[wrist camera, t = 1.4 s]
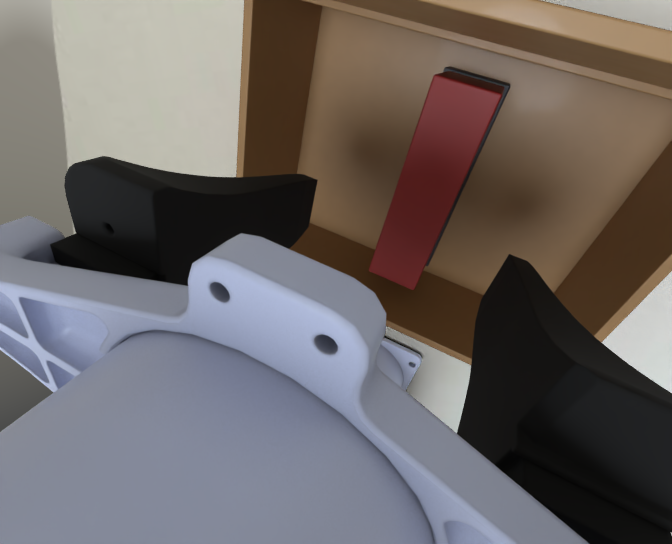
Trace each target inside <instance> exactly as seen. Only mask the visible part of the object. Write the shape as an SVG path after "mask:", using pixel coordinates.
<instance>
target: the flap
mask: <svg viewBox="0 0 672 544" xmlns="http://www.w3.org/2000/svg"><path fill="white" fill-rule="evenodd" d="M334 1H337V2H341V3H345V4H349V5H353V6H356V7H360V8H364V9H368V10H372V11H375V12H379V13H383V14H387V15H390V16H394V17H398V18H402V19H406V20H409V21H413V22H417V23H421V24H424V25H428V26H432V27H436V28H440V29H443V30H447V31H451V32H455V33H459V34H462V35H466V36H470V37H474V38H477V39H481V40H485V41H489V42H493V43H496V44H500V45H504V46H508V47H512V48H515V49H519V50H523V51H527V52H530V53H534V54H538V55H542V56H546V57H549V58H553V59H557V60H561V61H565V62H568V63H572V64H576V65H580V66H583V67H587V68H591V69H595V70H599V71H602V72H606V73H610V74H614V75H618V76H621V77H625V78H629V79H633V80H636V81H640V82H644V83H648V84H652V85H655V86H659V87H663V88H667V89H671V90H672V31H670V30H665V29H661V28H657V27H653V26H648V25H644V24H640V23H635V22H631V21H627V20H622V19H618V18H614V17H609V16H605V15H601V14H597V13H592V12H588V11H584V10H579V9H575V8H571V7H566V6H562V5H558V4H554V3H549V2H545V1H541V0H334Z"/></svg>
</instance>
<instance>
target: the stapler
mask: <svg viewBox="0 0 672 544" xmlns="http://www.w3.org/2000/svg"><path fill="white" fill-rule="evenodd" d="M509 89H510V83H507V82H503V81H500V80H496V79H493V78H489V77H486V76H482V75H479V74H475V73H472V72H468V71H465V70H461V69H458V68H454V67H451V66H449V67H445V68H444V71H443V73H439V74H435V75H434V76H433V79H432V82H431V85H430V88H429V91H428V94H427V97H426V100H425V103H424V106H423V109H422V112H421V114H420V117H419V120H418V123H417V126H416V129H415V132H414V135H413V138H412V141H411V144H410V147H409V150H408V153H407V156H406V159H405V162H404V165H403V168H402V171H401V174H400V177H399V180H398V183H397V186H396V189H395V192H394V195H393V198H392V201H391V204H390V207H389V210H388V213H387V216H386V219H385V222H384V225H383V228H382V231H381V234H380V237H379V240H378V243H377V246H376V249H375V252H374V255H373V258H372V261H371V264H370V267H369V271H370V272H372V273H375V274H377V275H379V276H381V277H384V278H386V279H388V280H391V281H393V282H395V283H398V284H400V285H402V286H405V287H407V288H409V289H411V290H414V289H415V288H416V285H417V283H418V281H419V279H420V277H421V274H422V272H423V270H424V268H425V266H428V265H429V263H430V261H431V259H432V257H433V254H434V252H435V250H436V248H437V246H438V243H439V241H440V239H441V237H442V235H443V233H444V230H445V228H446V226H447V224H448V222H449V219H450V217H451V215H452V213H453V211H454V209H455V206H456V204H457V202H458V200H459V198H460V195H461V193H462V191H463V189H464V187H465V185H466V182H467V180H468V178H469V176H470V174H471V172H472V169H473V167H474V165H475V163H476V161H477V158H478V156H479V154H480V152H481V150H482V148H483V145H484V143H485V141H486V139H487V137H488V134H489V132H490V130H491V128H492V126H493V124H494V121H495V119H496V117H497V115H498V113H499V110H500V108H501V106H502V104H503V102H504V100H505V97H506V95H507V93H508V91H509Z"/></svg>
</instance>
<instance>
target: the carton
mask: <svg viewBox="0 0 672 544" xmlns="http://www.w3.org/2000/svg"><path fill="white" fill-rule="evenodd" d="M449 66H451V67H454V68H458V69H461V70H465V71H468V72H472V73H475V74H479V75H482V76H486V77H489V78H493V79H496V80H500V81H503V82H507V83H510V89H509V91H508V93H507V95H506V97H505V100H504V102H503V104H502V106H501V108H500V110H499V113H498V115H497V117H496V119H495V121H494V124H493V126H492V128H491V130H490V132H489V134H488V137H487V139H486V141H485V143H484V145H483V148H482V150H481V152H480V154H479V156H478V158H477V161H476V163H475V165H474V167H473V169H472V172H471V174H470V176H469V178H468V180H467V182H466V185H465V187H464V189H463V191H462V193H461V195H460V198H459V200H458V202H457V204H456V206H455V209H454V211H453V213H452V215H451V217H450V219H449V222H448V224H447V226H446V228H445V230H444V233H443V235H442V237H441V239H440V241H439V243H438V246H437V248H436V250H435V252H434V254H433V257H432V259H431V261H430V263H429V265H428V266H425V268H424V270H423V272H422V274H421V277H420V279H419V281H418V283H417V285H416V288H415V289H414V290H411V289H409V288H407V287H405V286H402V285H400V284H398V283H395V282H393V281H391V280H388V279H386V278H384V277H381V276H379V275H377V274H375V273H372V272H370V271H369V267H370V264H371V261H372V258H373V255H374V252H375V249H376V246H377V243H378V240H379V237H380V234H381V231H382V228H383V225H384V222H385V219H386V216H387V213H388V210H389V207H390V204H391V201H392V198H393V195H394V192H395V189H396V186H397V183H398V180H399V177H400V174H401V171H402V168H403V165H404V162H405V159H406V156H407V153H408V150H409V147H410V144H411V141H412V138H413V135H414V132H415V129H416V126H417V123H418V120H419V117H420V114H421V112H422V109H423V106H424V103H425V100H426V97H427V94H428V91H429V88H430V85H431V82H432V79H433V76H434V75H435V74H439V73H443V71H444V68H445V67H449ZM281 174H304V175H306V176H309V177H312V178H314V179H317V180H318V181H317V186H316V191H315V197H314V202H313V207H312V212H311V218H310V223H309V227H308V228H307V230H306V231H305V232H304V234H303V235H302V236H301V237H300V238H299V240H298V241H297V242H296V243H295V244H294V245H293V246H292V247H291V248H290V250H292V251H295V252H297V253H299V254H301V255H304V256H306V257H308V258H310V259H313V260H315V261H317V262H319V263H322V264H324V265H326V266H329V267H331V268H333V269H335V270H338V271H340V272H342V273H344V274H347V275H349V276H351V277H353V278H355V279H356V280H358V281H359V282H361V283H362V284H363V285H365V286H366V287H367V288H369V289H370V290H372V291H373V292H374V293H375V294H376V296H377V298H378V299H379V301H380V303H381V305H382V307H383V308H384V310H385V312H386V326H388V327H390V328H392V329H394V330H396V331H399V332H401V333H403V334H405V335H407V336H409V337H411V338H414V339H416V340H418V341H420V342H422V343H424V344H427V345H429V346H431V347H433V348H435V349H437V350H440V351H442V352H444V353H446V354H448V355H450V356H452V357H455V358H457V359H459V360H461V361H463V362H465V363H468V364H470V365H471V363H472V352H473V340H474V330H475V321H476V317H477V313H478V309H479V306H480V302H481V299H482V297H483V296H484V294H485V292H486V291H487V289H488V288H489V286H490V284H491V283H492V281H493V279H494V278H495V276H496V275H497V273H498V271H499V270H500V268H501V266H502V265H503V263H504V262H505V260H506V258H507V257H508V255H509V254H511V255H513V256H516V257H518V258H521V259H524V260H526V261H528V262H529V263H530V264H531V265H532V266H533V267H534V268H535V270H536V271H537V272H538V273H539V275H540V276H541V277H542V279H543V280H544V281H545V283H546V284H547V285H548V287H549V288H550V289H551V291H552V292H553V293H554V294H555V296H556V297H557V298H558V299H559V300H560V302H561V303H562V304H563V305H564V306H565V307H566V309H567V310H568V311H569V312H570V313H571V314H572V315H573V316H574V317H575V318H576V319H577V321H578V322H579V323H580V324H581V325H583V326H584V327H585V328H586V329H587V330H588V331H589V332H590V333H591V334H592V335H593V336H594V337H595V338H596V339H598V340H599V341H600V342H602V341H603V340H604V339H605V338H606V337H607V336H608V335H609V334H610V333H611V332H612V331H613V330H614V329H615V328H616V327H617V326H618V325H619V324H620V323H621V322H622V321H623V320H624V319H625V318H626V317H627V316H628V315H629V314H630V313H631V312H632V311H633V310H634V309H635V308H636V307H637V306H638V305H639V304H640V303H641V302H642V301H643V299H644V298H645V297H646V296H647V295H648V294H649V293H650V292H651V291H652V290H653V289H654V288H655V287H656V286H657V285H658V284H659V283H660V282H661V281H662V280H663V279H664V278H665V277H666V276H667V275H668V274H669V273H670V272H671V271H672V90H671V89H667V88H663V87H659V86H655V85H652V84H648V83H644V82H640V81H636V80H633V79H629V78H625V77H621V76H618V75H614V74H610V73H606V72H602V71H599V70H595V69H591V68H587V67H583V66H580V65H576V64H572V63H568V62H565V61H561V60H557V59H553V58H549V57H546V56H542V55H538V54H534V53H530V52H527V51H523V50H519V49H515V48H512V47H508V46H504V45H500V44H496V43H493V42H489V41H485V40H481V39H477V38H474V37H470V36H466V35H462V34H459V33H455V32H451V31H447V30H443V29H440V28H436V27H432V26H428V25H424V24H421V23H417V22H413V21H409V20H406V19H402V18H398V17H394V16H390V15H387V14H383V13H379V12H375V11H372V10H368V9H364V8H360V7H356V6H353V5H349V4H345V3H341V2H337V1H334V0H244V20H243V42H242V64H241V86H240V108H239V130H238V152H237V174H236V177H255V176H269V175H281Z"/></svg>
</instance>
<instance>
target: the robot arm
mask: <svg viewBox="0 0 672 544" xmlns="http://www.w3.org/2000/svg"><path fill="white" fill-rule="evenodd" d="M317 181H318V180H317V179H314V178H312V177H309V176H306V175H304V174H281V175H269V176H255V177H207V176H198V175H189V174H180V173H174V172H168V171H163V170H158V169H153V168H148V167H144V166H140V165H136V164H133V163H129V162H125V161H121V160H117V159H114V158H111V157H106V156H102V157H98V158H94V159H90V160H86V161H82V162H78V163H75V164H73V165H72V166H71V167H69V169H68V171H67V173H66V176H65V191H66V197H67V201H68V205H69V208H70V212H71V216H72V220H73V223H74V227H75V231H76V234H74V235H71V236H69V237H66V238H65V237H64V236H63V235H62V233H61V232H60V231H59V230H57V229H56V228H54V227H52V226H50V225H48V224H46V223H44V222H42V221H40V220H38V219H36V218H34V217H32V216H26V217H23V218H20V219H17V220H14V221H11V222H8V223H5V224H2V225H0V350H1V351H3V352H4V353H5V354H7V355H8V356H9V357H11V358H12V359H13V360H14V361H16V362H17V363H18V364H19V365H21V366H22V367H23V368H25V369H26V370H27V371H28V372H30V373H31V374H32V375H33V376H35V377H36V378H37V379H38V380H39V381H40V382H42V383H43V384H44V385H45V386H47V387H48V388H49V389H50V390H51V391H53V392H54V393H53V394H51V395H50V396H49V397H47V398H46V399H45V400H43V401H42V402H40V403H39V404H38V405H37V406H35V407H34V408H32V409H31V410H30V411H28V412H27V413H26V414H24V415H23V416H21V417H20V418H19V419H17V420H16V421H15V422H13V423H12V424H11V425H9V426H8V427H6V428H5V429H4V430H2V431H1V432H0V544H672V536H671V533H670V532H672V393H670V392H669V391H667V390H666V389H664V388H662V387H661V386H659V385H658V384H656V383H655V382H653V381H652V380H650V379H649V378H648V377H646V376H645V375H643V374H642V373H640V372H639V371H637V370H636V369H634V368H633V367H632V366H630V365H629V364H628V363H626V362H625V361H624V360H622V359H621V358H620V357H618V356H617V355H616V354H615V353H613V352H612V351H611V350H610V349H608V348H607V347H606V346H605V345H603V344H602V343H601V342H600V341H599V340H598V339H596V338H595V337H594V336H593V335H592V334H591V333H590V332H589V331H588V330H587V329H586V328H585V327H584V326H583V325H581V324H580V323H579V322H578V321H577V319H576V318H575V317H574V316H573V315H572V314H571V313H570V312H569V311H568V310H567V309H566V307H565V306H564V305H563V304H562V303H561V302H560V300H559V299H558V298H557V297H556V296H555V294H554V293H553V292H552V291H551V289H550V288H549V287H548V285H547V284H546V283H545V281H544V280H543V279H542V277H541V276H540V275H539V273H538V272H537V271H536V270H535V268H534V267H533V266H532V265H531V264H530V263H529V262H528V261H526V260H524V259H521V258H518V257H516V256H513V255H511V254H509V255H508V257H507V258H506V260H505V262H504V263H503V265H502V266H501V268H500V270H499V271H498V273H497V275H496V276H495V278H494V279H493V281H492V283H491V284H490V286H489V288H488V289H487V291H486V292H485V294H484V296H483V297H482V299H481V302H480V306H479V309H478V313H477V317H476V321H475V330H474V340H473V352H472V363H471V373H470V380H469V386H468V390H467V394H466V399H465V403H464V408H463V412H462V416H461V420H460V424H459V428H458V432H457V433H455V432H454V431H453V430H452V429H451V428H449V427H448V426H447V425H446V424H445V423H443V422H442V421H441V420H440V419H438V418H437V417H436V416H435V415H434V414H432V413H431V412H430V411H429V410H428V409H426V408H425V407H424V406H423V405H422V404H420V403H419V402H418V401H417V400H416V399H414V398H413V397H412V396H411V395H410V394H408V393H407V392H406V389H407V387H408V385H409V383H410V382H411V380H412V378H413V376H414V375H415V373H416V371H417V369H418V367H419V366H420V364H421V361H422V357H421V355H420V354H418V353H416V352H414V351H412V350H410V349H408V348H406V347H403V346H401V345H399V344H397V343H395V342H393V341H391V340H389V339H386V338H384V335H385V331H386V312H385V310H384V308H383V307H382V305H381V303H380V301H379V299H378V298H377V296H376V294H375V293H374V292H373V291H372V290H370V289H369V288H367V287H366V286H365V285H363V284H362V283H361V282H359V281H358V280H356V279H355V278H353V277H351V276H349V275H347V274H344V273H342V272H340V271H338V270H335V269H333V268H331V267H329V266H326V265H324V264H322V263H319V262H317V261H315V260H313V259H310V258H308V257H306V256H304V255H301V254H299V253H297V252H295V251H292V250H290V248H291V247H292V246H293V245H294V244H295V243H296V242H297V241H298V240H299V238H300V237H301V236H302V235H303V234H304V232H305V231H306V230H307V228H308V227H309V223H310V218H311V212H312V207H313V202H314V197H315V191H316V186H317ZM411 362H413V363H415V364H413V363H411Z"/></svg>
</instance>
